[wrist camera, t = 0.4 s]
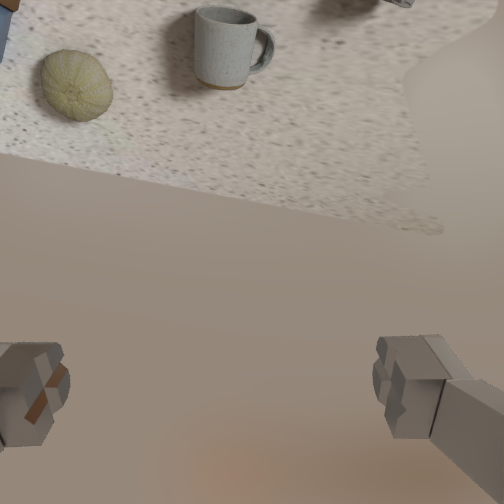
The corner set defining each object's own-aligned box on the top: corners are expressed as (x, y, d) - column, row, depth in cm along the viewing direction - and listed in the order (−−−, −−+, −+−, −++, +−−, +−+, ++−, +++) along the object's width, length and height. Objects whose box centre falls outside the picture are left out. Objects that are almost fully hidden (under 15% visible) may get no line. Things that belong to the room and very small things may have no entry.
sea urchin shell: (29, 99, 53) (26, 80, 46) (56, 52, 54) (57, 26, 47) (93, 136, 57) (100, 123, 50) (117, 92, 58) (127, 73, 51)
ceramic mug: (193, 70, 53) (192, 91, 47) (195, 1, 48) (193, 16, 42) (268, 78, 55) (275, 99, 49) (278, 12, 49) (287, 28, 44)
